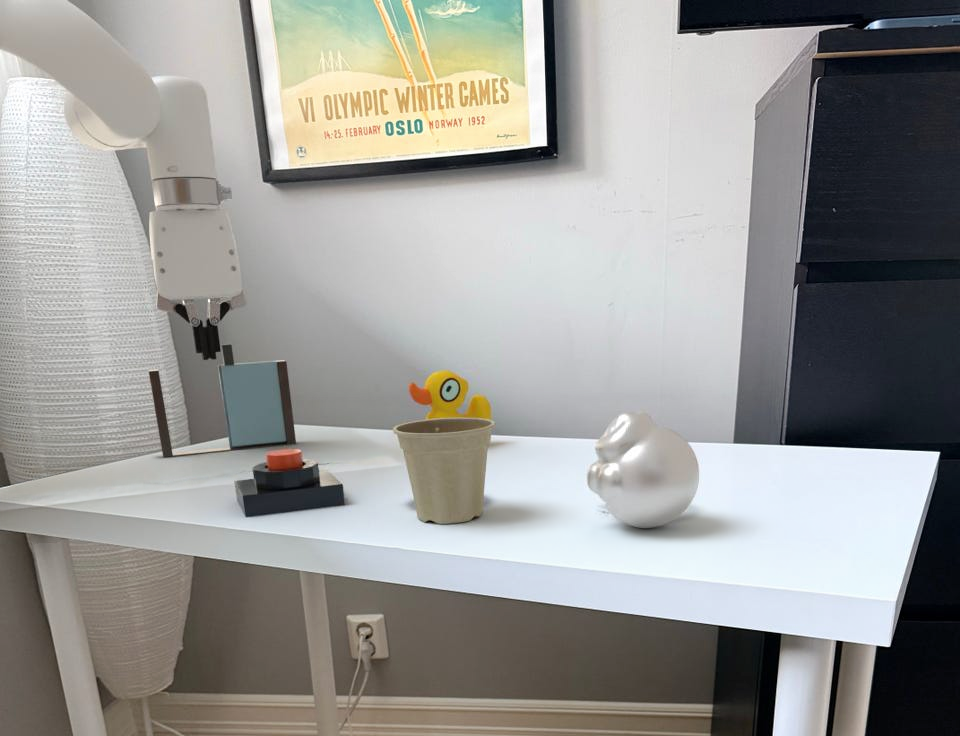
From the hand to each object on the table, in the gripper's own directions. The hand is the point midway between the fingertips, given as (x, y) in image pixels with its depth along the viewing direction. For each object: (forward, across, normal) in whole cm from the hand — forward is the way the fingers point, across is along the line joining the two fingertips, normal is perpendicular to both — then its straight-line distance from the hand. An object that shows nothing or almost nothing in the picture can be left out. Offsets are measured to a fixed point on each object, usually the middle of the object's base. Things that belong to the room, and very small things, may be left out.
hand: (209, 358), depth 117 cm
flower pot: (+13, -17, +44) cm, 49 cm away
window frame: (+13, -1, 0) cm, 13 cm away
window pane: (+11, -5, 0) cm, 12 cm away
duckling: (+13, -29, +9) cm, 33 cm away
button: (+9, -4, +30) cm, 31 cm away
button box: (+13, -4, +30) cm, 32 cm away
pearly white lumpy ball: (+13, -31, +56) cm, 65 cm away
